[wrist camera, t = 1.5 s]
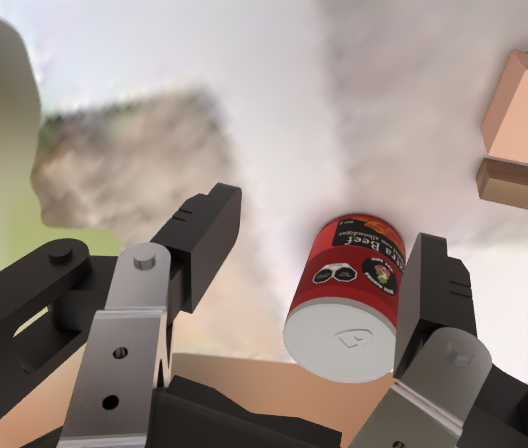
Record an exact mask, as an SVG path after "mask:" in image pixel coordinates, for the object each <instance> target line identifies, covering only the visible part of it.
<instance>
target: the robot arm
mask: <svg viewBox="0 0 528 448" xmlns="http://www.w3.org/2000/svg"><path fill="white" fill-rule="evenodd" d="M241 197H242V191H241V188H239V187H235V186H231V185H227V184H223V183H217V184H216V185H215V186H214V188H213V189H212V190H211V191H210V192H209V194H208V195H204V194H200V193H199V194H197V195H195V196H193V197H191V198H189V199H187V200H186V201H185V202H184V203H183V205H182V206H181V207H180V208H179V210H178V211H176V212H175V214H174V215H173V216H172V218H170V219H169V220H168V221H167V223H166V224H165V225H164V226H163V227H162V228H161V229H160V230H159V232H158V233H157V234H156V235H155V236H154V237H153V238H152V239H151V241H150V242H144V243H138V244H134V245H131V246H129V247H127V248H126V249H124V250H123V251H122V252H121V254H120V255H119V256H91V255H90V254H89V249H88V247H87V245H86V244H85V243H84V242H82V241H80V240H77V239H71V238H65V239H57V240H53V241H50V242H48V243H46V244H44V245H42V246H40V247H39V248H37V249H35V250H34V251H32V252H31V253H29V254H27V255H26V256H24V257H23V258H21V259H19V260H18V261H16V262H14V263H13V264H12V265H10V266H8V267H6V268H5V269H3V270H2V271H0V419H1V418H2V417H3V416H4V415H6V414H7V413H8V412H9V411H10V410H11V409H12V408H13V407H15V406H16V404H18V403H19V402H20V401H21V400H22V399H23V398H24V397H26V396H27V395H28V394H29V393H30V392H31V391H32V390H33V389H35V388H36V387H37V386H38V385H39V384H40V383H41V382H42V381H43V380H45V379H46V378H47V377H48V376H49V375H50V374H51V373H52V372H54V371H55V370H56V369H57V368H58V367H59V366H60V365H61V364H62V363H64V361H66V360H67V359H68V358H69V357H70V356H71V355H72V354H73V353H75V352H76V351H77V350H78V349H79V348H80V347H81V346H82V345H84V344H85V343H86V342H87V344H86V347H85V351H84V354H83V358H82V361H81V365H80V369H79V372H78V376H77V379H76V383H75V387H74V390H73V394H72V397H71V401H70V404H69V408H68V411H67V415H66V418H65V422H64V425H63V426H61V427H59V428H57V429H55V430H53V431H51V432H49V433H47V434H45V435H44V436H41V437H40V438H37V439H36V440H34V441H32V442H30V443H28V444H26V445H24V446H22V447H20V448H341V447H340V443H341V437H342V432H339V431H335V430H333V429H330V428H327V427H324V426H321V425H319V424H316V423H313V422H310V421H307V420H304V419H301V418H298V417H287V416H275V415H265V414H255V413H251V412H249V411H247V410H246V409H244V408H243V407H241V406H239V405H238V404H237V403H235V402H233V401H232V400H231V399H229V398H227V397H226V396H224V395H223V394H221V393H220V392H218V391H217V390H215V389H214V388H211V387H208V386H206V385H203V384H200V383H197V382H194V381H191V380H189V379H186V378H183V377H180V376H177V375H175V376H174V377H173V379H172V381H171V382H170V373H171V361H172V349H173V337H174V319H175V318H176V316H177V315H178V313H179V311H180V310H181V311H184V312H188V313H191V314H192V313H193V311H194V310H195V308H196V307H197V305H198V303H199V302H200V300H201V298H202V297H203V295H204V293H205V292H206V290H207V289H208V287H209V285H210V284H211V282H212V280H213V279H214V277H215V275H216V274H217V272H218V271H219V269H220V267H221V266H222V264H223V262H224V261H225V259H226V257H227V256H228V254H229V253H230V251H231V249H232V248H233V246H234V244H235V242H236V239H237V236H238V233H239V226H240V212H241ZM470 288H471V282H470V273H469V272H468V270H467V269H466V267H465V266H464V264H463V263H462V261H461V260H460V259H456V258H452V257H448V256H447V241H446V238H442V237H438V236H434V235H430V234H425V233H421V232H420V233H419V234H418V236H417V239H416V241H415V244H414V246H413V249H412V252H411V254H410V257H409V259H408V262H407V265H406V267H405V270H404V273H403V276H402V280H401V284H400V290H399V303H398V316H397V330H396V343H395V356H394V369H393V378H396V379H399V382H398V383H396V382H395V383H394V384H393V385H392V386H391V388H390V389H389V390H388V392H387V393H386V395H385V396H384V397H383V399H382V400H381V402H380V403H379V404H378V406H377V407H376V409H375V410H374V411H373V413H372V414H371V416H370V417H369V418H368V420H367V421H366V422H365V424H364V426H363V427H362V428H361V429H360V431H359V432H358V434H357V435H356V437H355V438H354V439H353V441H352V442H351V444H350V445H349V446H348V448H455V446H457V447H458V448H528V385H527V384H525V383H523V382H521V381H519V380H518V379H516V378H514V377H512V376H510V375H508V374H507V373H505V372H503V371H502V370H500V369H499V368H498V367H496V366H495V365H494V364H493V363H492V358H491V355H490V353H489V351H488V349H487V348H486V347H485V345H484V344H483V343H482V342H481V341H480V340H478V338H477V330H476V322H475V314H474V306H473V300H472V290H471V289H470ZM46 306H47V308H48V312H46V313H45V314H44V315H42V316H41V317H40V318H38V319H37V320H36V321H34V322H33V323H32V324H31V325H29V326H28V327H27V328H26V329H24V330H23V331H22V332H20V333H19V334H17V335H16V336H15V337H13V336H14V334H15V332H16V331H17V329H18V328H19V327H20V326H21V325H23V324H24V323H25V322H26V321H28V320H29V319H30V318H32V317H33V316H34V315H36V314H37V313H38V312H40V311H41V310H42V309H44V308H45V307H46Z"/></svg>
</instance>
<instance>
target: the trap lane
mask: <svg viewBox="0 0 528 448" xmlns="http://www.w3.org/2000/svg"><path fill="white" fill-rule="evenodd" d="M476 182H477V187H478V192H479V197H480V199H483V200H487V201H492V202H496V203H501V204H505V205H510V206H514V207H519V208H523V209H528V167H525V166H520V165H515V164H510V163H506V162H501V161H496V160H491V159H486V158H484V160H483V163H482V165H481V167H480V170H479V172H478V174H477V176H476Z"/></svg>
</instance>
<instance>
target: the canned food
mask: <svg viewBox="0 0 528 448" xmlns="http://www.w3.org/2000/svg"><path fill="white" fill-rule="evenodd" d="M405 264H406V254H405V249H404V246H403V243H402V241H401V239H400V237H399V236H398V234H397V233H396V232H395V230H394V229H393V228H392V227H390V226H389V225H388V224H386V223H385V222H383V221H381V220H378V219H376V218H373V217H369V216H362V215H353V216H346V217H342V218H339V219H337V220H335V221H333V222H331V223H330V224H328V225H327V226H326V227H325V228H324V229H323V230H322V231H321V232H320V233H319V234H318V236H317V237H316V239H315V241H314V244H313V247H312V249H311V252H310V255H309V257H308V260H307V263H306V265H305V268H304V271H303V274H302V276H301V279H300V282H299V284H298V287H297V290H296V293H295V295H294V298H293V301H292V303H291V306H290V309H289V313H288V315H287V318H286V321H285V325H284V330H283V340H284V344H285V347H286V349H287V351H288V352H289V354H290V355H291V357H292V358H293V359H294V360H295V361H296V362H297V363H298V364H299V365H301V366H302V367H303V368H305V369H306V370H308V371H309V372H311V373H313V374H315V375H317V376H319V377H322V378H326V379H328V380H332V381H337V382H343V383H363V382H368V381H372V380H375V379H378V378H380V377H382V376H384V375H385V374H387V373H388V372H389V371H390V370H391V369H392V368H393V367H394V356H395V343H396V330H397V316H398V303H399V290H400V284H401V280H402V276H403V273H404V270H405Z"/></svg>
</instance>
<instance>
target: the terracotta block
mask: <svg viewBox="0 0 528 448" xmlns="http://www.w3.org/2000/svg"><path fill="white" fill-rule="evenodd" d="M481 132H482V136H483V139H484V143H485V147H486V151H487V155H489V156H494V157H499V158H504V159H509V160H513V161H518V162H523V163H528V53H525V52H518V51H512V53H511V55H510V58H509V60H508V63H507V65H506V67H505V70H504V72H503V75H502V77H501V80H500V82H499V84H498V87H497V89H496V92H495V94H494V97H493V99H492V101H491V104H490V106H489V109H488V111H487V114H486V116H485V118H484V121H483V123H482V126H481Z"/></svg>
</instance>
